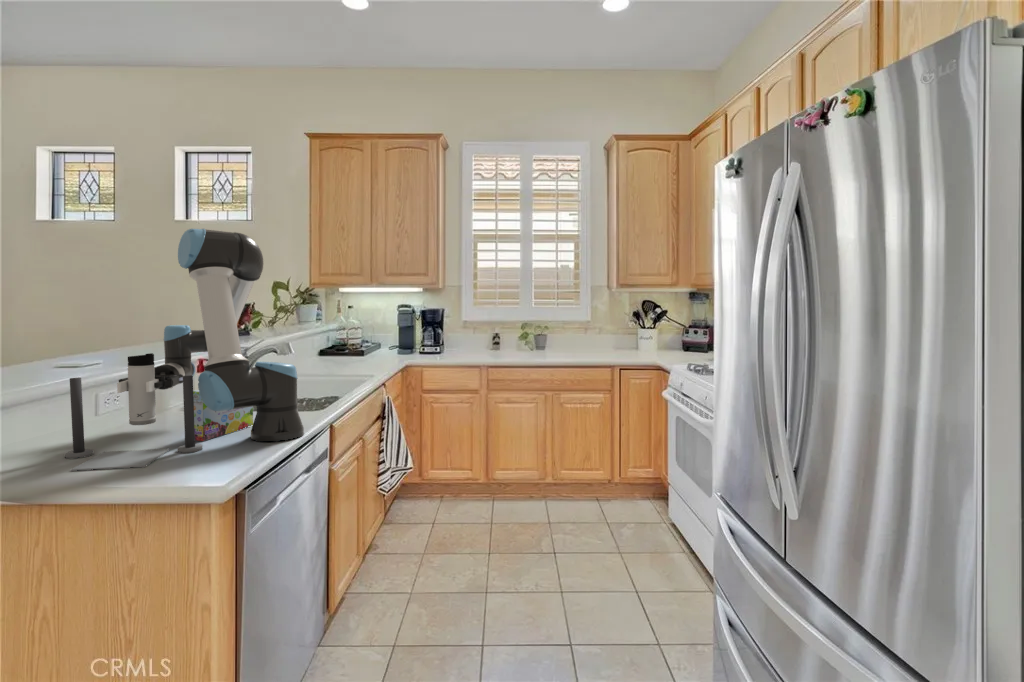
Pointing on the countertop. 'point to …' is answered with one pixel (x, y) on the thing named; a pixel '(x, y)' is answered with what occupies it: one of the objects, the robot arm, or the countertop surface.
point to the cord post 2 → (189, 417)
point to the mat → (121, 459)
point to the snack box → (218, 420)
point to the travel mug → (141, 389)
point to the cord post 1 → (77, 421)
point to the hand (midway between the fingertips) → (133, 387)
